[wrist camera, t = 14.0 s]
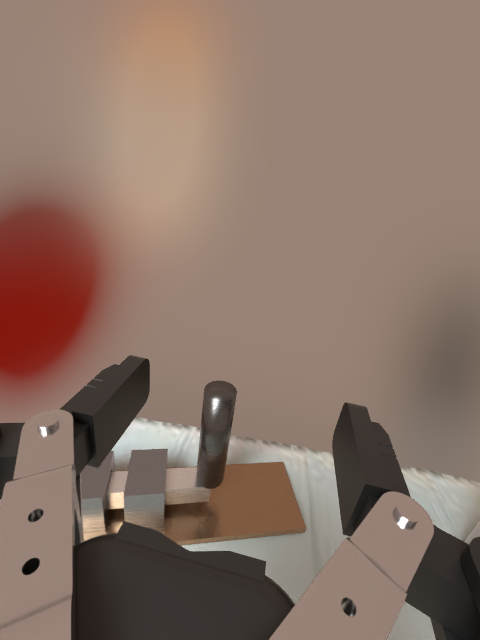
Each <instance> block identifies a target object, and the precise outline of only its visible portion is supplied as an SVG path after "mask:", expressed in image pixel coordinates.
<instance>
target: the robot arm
mask: <svg viewBox="0 0 480 640" xmlns="http://www.w3.org/2000/svg"><path fill="white" fill-rule="evenodd" d="M149 387H150V365H149V360H148V359H145V358H140V357H136V356H132V355H130V356H128V357H127V358H126V359H125V360H124V361H123V362H122V363H121V364H120V365H116V364H115V365H112V366H110V367H108V368H106V369H104V370H102V371H101V372H100V373H99V374H98V375H97V376H96V377H95V378H94V380H91V381H90V382H89V383H88V384H87V386H85V387H84V388H83V389H82V390H80V391H79V392H78V393H77V394H76V395H75V396H74V397H73V398H72V399H70V400H69V401H68V402H67V403H66V404H65V405H64V406H63V407H62V408H61V409H60V410H58V409H57V410H48V411H45V412H41V413H39V414H37V415H35V416H33V417H32V418H30V419H29V420H28V421H27V422H26V423H0V499H1V498H2V501H1V505H0V640H386V639H387V637H388V635H389V633H390V631H391V629H392V627H393V625H394V622H395V620H396V618H397V616H398V614H399V612H400V610H401V608H402V606H403V603H404V601H406V602H407V603H409V604H410V605H412V606H413V607H415V608H416V609H418V610H419V611H421V612H423V613H424V614H426V615H427V616H429V617H430V618H431V622H432V626H433V630H434V633H435V637H436V640H480V520H479V522H478V523H477V524H476V526H475V527H474V528H473V530H472V531H471V532H470V534H469V535H468V537H467V538H466V539H465V541H464V542H463V541H461V540H459V539H458V538H456V537H454V536H452V535H450V534H448V533H446V532H444V531H442V530H441V529H439V528H437V527H436V526H435V525H433V523H432V520H431V518H430V516H429V515H428V513H427V512H426V511H425V510H424V508H423V507H422V506H421V505H420V504H419V503H417V502H416V501H415V500H414V499H412V498H411V497H410V494H409V491H408V488H407V485H406V483H405V480H404V477H403V474H402V472H401V469H400V466H399V463H398V461H397V459H396V455H395V452H394V449H392V444H391V441H390V438H389V435H388V434H387V433H386V431H385V430H384V429H383V428H382V427H381V425H380V424H379V423H375V422H371V420H370V417H369V413H368V410H367V408H366V407H365V406H360V405H356V404H351V403H344V405H343V408H342V411H341V413H340V417H339V419H338V422H337V425H336V428H335V431H334V435H333V443H332V444H333V445H332V446H333V447H332V448H333V457H334V465H335V473H336V481H337V489H338V497H339V505H340V513H341V521H342V529H343V534H344V535H347V536H351V537H350V538H348V537H347V538H346V539H345V540H344V541H343V543H342V544H341V545H340V547H339V548H338V549H337V550H336V552H335V553H334V554H333V556H332V557H331V558H330V560H329V561H328V562H327V564H326V565H325V566H324V568H323V569H322V570H321V572H320V573H319V574H318V576H317V577H316V578H315V579H314V581H313V582H312V583H311V585H310V586H309V587H308V589H307V590H306V591H305V593H304V594H303V595H302V597H301V598H300V599H299V601H298V602H297V603H296V605H295V604H294V602H293V601H292V600H291V598H290V597H289V596H288V594H287V593H286V592H285V591H284V590H283V589H282V588H281V587H280V586H279V585H278V584H276V583H275V582H274V581H273V580H272V579H270V578H269V577H267V576H266V575H265V566H266V561H263V560H259V559H256V558H252V557H249V556H245V555H242V554H238V553H234V552H231V551H199V552H193V551H188V550H186V549H185V548H183V547H182V546H180V545H179V544H177V543H175V542H174V541H172V540H171V539H169V538H168V537H166V536H165V535H163V534H162V533H160V532H159V531H157V530H154V529H150V528H147V527H143V526H140V525H136V524H132V523H129V522H125V521H123V523H122V525H121V527H120V529H119V531H118V532H117V533H111V534H105V535H100V536H97V537H93V538H91V539H88V540H85V541H84V535H83V519H82V491H81V474H80V473H81V472H82V470H83V469H84V468H85V466H86V465H88V466H92V467H96V468H99V466H100V465H101V463H102V462H103V461H104V459H105V458H106V457H107V455H108V454H109V452H110V451H111V450H112V448H113V447H114V446H115V444H116V443H117V441H118V440H119V439H120V437H121V436H122V435H123V433H124V432H125V430H126V429H127V428H128V426H129V425H130V424H131V422H132V421H133V419H134V418H135V417H136V415H137V414H138V413H139V411H140V410H141V408H142V407H143V406H144V404H145V403H146V401H147V398H148V395H149V389H150V388H149Z"/></svg>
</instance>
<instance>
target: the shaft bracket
mask: <svg viewBox="0 0 480 640" xmlns="http://www.w3.org/2000/svg"><path fill="white" fill-rule="evenodd" d="M167 450H168V449H152V450H132V453H131V459H130V464H129V469H128V470H123V471H128V475H127V480H126V485H125V490H124V496H123V498H124V508H119V509H107V506H106V495H105V494H106V490H107V486H108V482H109V478H110V474H111V472H114V471H115V462H114V451H110V452H109V454H108V455H107V457H106V458H105V459H104V461H103V462H102V463H101V465H100V466H99V468H96V467H92V466H88V465H86V466H85V468H84V469H83V470H82V472H81V473H80V474H81V491H82V519H83V535H84V541H85V540H88V539H91V538H93V537H97V536H100V535H105V534H111V533H117V532H118V531H119V529H120V527H121V525H122V523H123V521H125V522H129V523H132V524H136V525H140V526H143V527H147V528H150V529H154V530H157V531H159V532H160V533H162V534H163V535H165V536H166V537H168V538H169V539H171V540H172V541H174V542H175V543H177V544H179V545H190V544H199V543H209V542H218V541H228V540H237V539H247V538H256V537H266V536H275V535H285V534H294V533H304V532H305V529H306V528H305V525H304V522H303V519H302V516H301V513H300V510H299V507H298V504H297V501H296V498H295V495H294V493H293V490H292V487H291V484H290V481H289V478H288V475H287V472H286V469H285V466H284V463H283V462H272V463H253V464H235V465H226V467H225V473H224V479H223V482H222V483H221V485H220V486H218V487H216V488H213V489H211V490H210V498H209V502H196V503H183V504H170V505H165V485H166V469H169V468H167ZM179 468H188V467H179Z"/></svg>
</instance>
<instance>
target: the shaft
mask: <svg viewBox="0 0 480 640" xmlns="http://www.w3.org/2000/svg"><path fill="white" fill-rule="evenodd" d="M236 394H237V391H236V388H235V387H234V386H233V385H232V384H230V383H228V382H225V381H213V382H211V383H209V384H207V385H206V386H205V389H204V400H203V411H202V420H201V431H200V441H199V452H198V462H197V467H188V468H169V469H166V485H165V505H170V504H183V503H196V502H209V498H210V490H211V489H213V488H216V487H218V486H220V485H221V483H222V482H223V479H224V473H225V467H226V460H227V454H228V447H229V440H230V434H231V427H232V420H233V414H234V406H235V400H236ZM127 475H128V471H114V472H111V474H110V478H109V482H108V486H107V490H106V494H105V495H106V506H107V509H119V508H124V498H123V496H124V490H125V485H126V480H127Z"/></svg>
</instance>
